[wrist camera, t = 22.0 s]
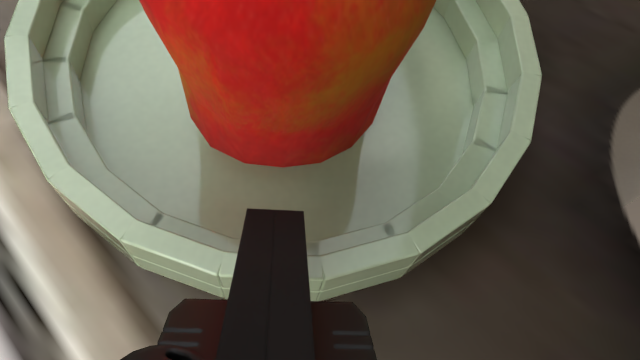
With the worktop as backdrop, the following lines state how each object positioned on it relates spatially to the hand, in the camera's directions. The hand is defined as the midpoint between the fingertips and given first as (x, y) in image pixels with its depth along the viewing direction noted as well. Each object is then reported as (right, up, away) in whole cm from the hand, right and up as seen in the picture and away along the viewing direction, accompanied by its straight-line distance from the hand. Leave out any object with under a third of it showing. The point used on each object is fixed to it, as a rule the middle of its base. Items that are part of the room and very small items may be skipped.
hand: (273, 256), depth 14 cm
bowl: (0, +6, +9) cm, 11 cm away
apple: (0, +5, +7) cm, 9 cm away
